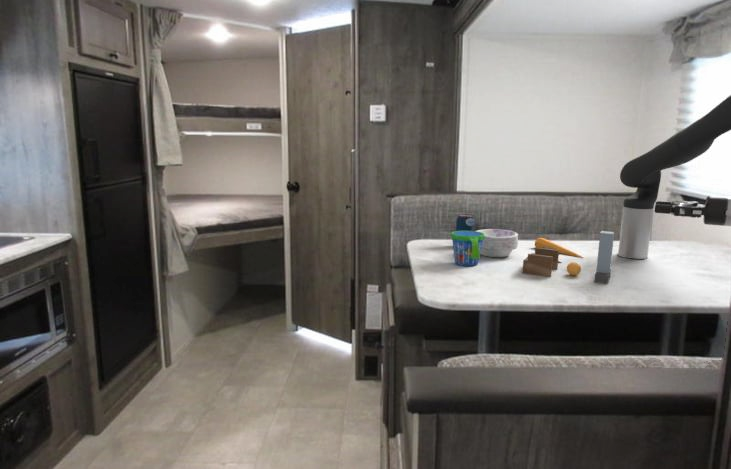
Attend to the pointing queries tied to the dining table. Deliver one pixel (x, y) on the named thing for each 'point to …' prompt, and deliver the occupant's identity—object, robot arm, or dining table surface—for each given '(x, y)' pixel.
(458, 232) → the snack cup
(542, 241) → the carrot
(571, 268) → the ball
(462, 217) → the soda can
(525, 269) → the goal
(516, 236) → the paper bowls
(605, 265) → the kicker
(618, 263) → the dining table surface
